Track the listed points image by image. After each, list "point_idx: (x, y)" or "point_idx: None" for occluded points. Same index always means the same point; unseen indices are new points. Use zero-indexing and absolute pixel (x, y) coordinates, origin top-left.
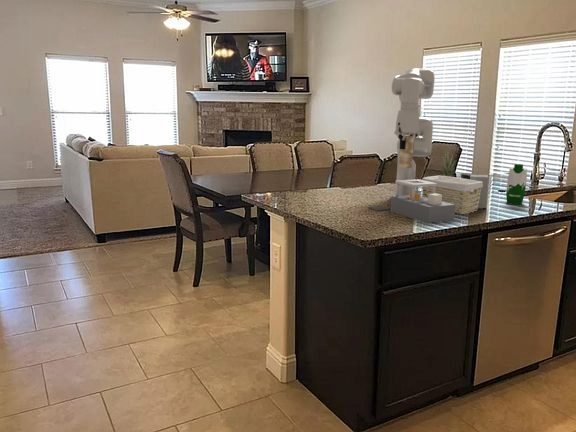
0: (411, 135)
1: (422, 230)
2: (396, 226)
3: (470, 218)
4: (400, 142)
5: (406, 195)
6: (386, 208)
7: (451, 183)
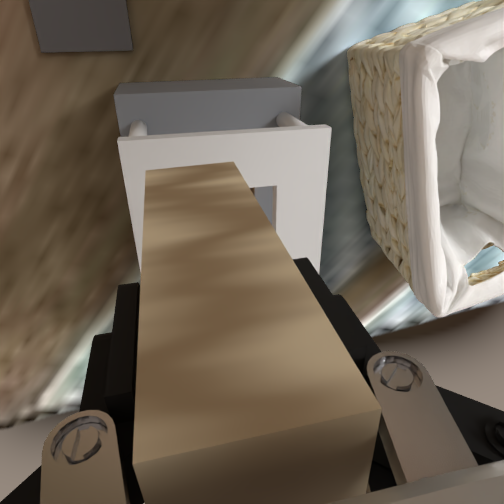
0: (432, 447)
1: (83, 388)
2: (11, 338)
3: (351, 285)
4: (87, 404)
5: (229, 94)
6: (116, 34)
7: (424, 258)
